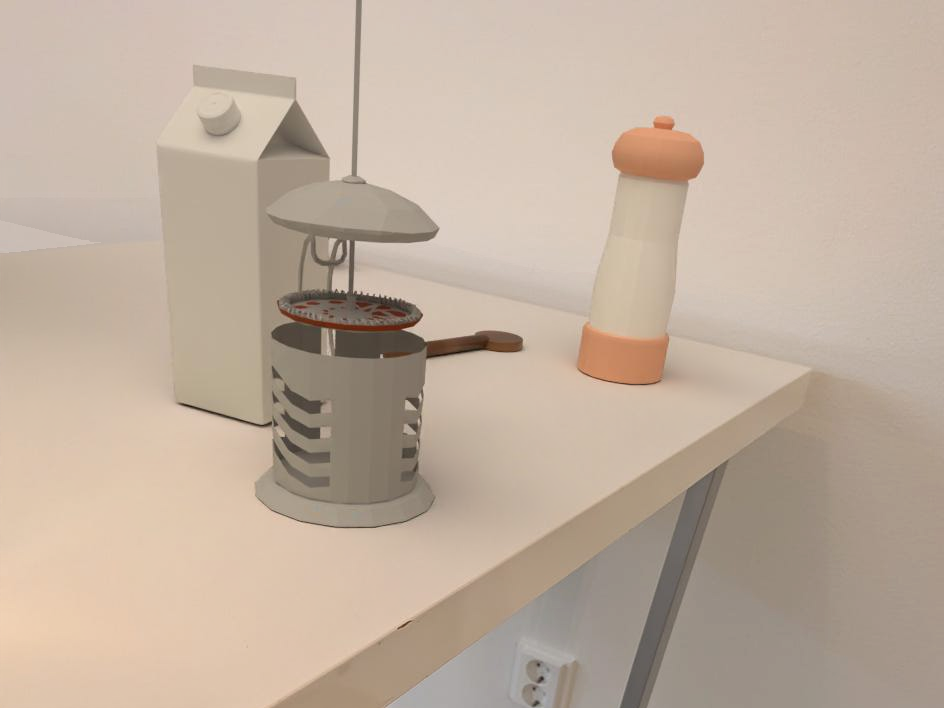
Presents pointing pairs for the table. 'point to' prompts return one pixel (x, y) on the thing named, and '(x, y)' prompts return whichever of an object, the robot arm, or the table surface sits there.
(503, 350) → the wooden spoon
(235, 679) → the table surface
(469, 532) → the table surface
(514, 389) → the table surface
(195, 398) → the milk carton
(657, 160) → the pepper shaker
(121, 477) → the table surface
